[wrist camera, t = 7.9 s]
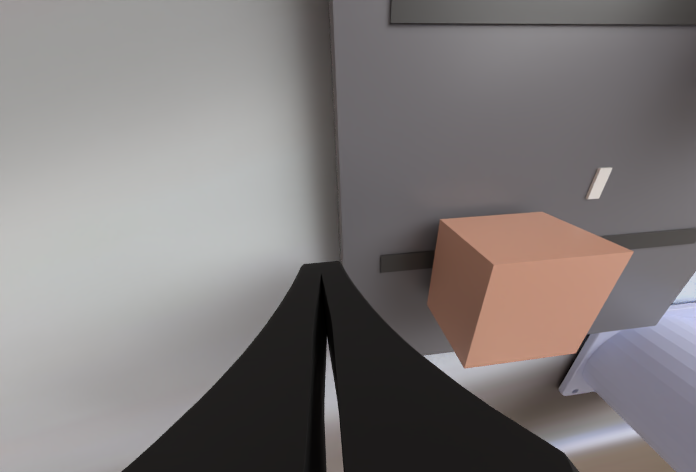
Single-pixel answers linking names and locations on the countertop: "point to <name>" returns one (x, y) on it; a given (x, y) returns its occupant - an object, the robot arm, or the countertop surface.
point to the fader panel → (514, 139)
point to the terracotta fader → (519, 285)
